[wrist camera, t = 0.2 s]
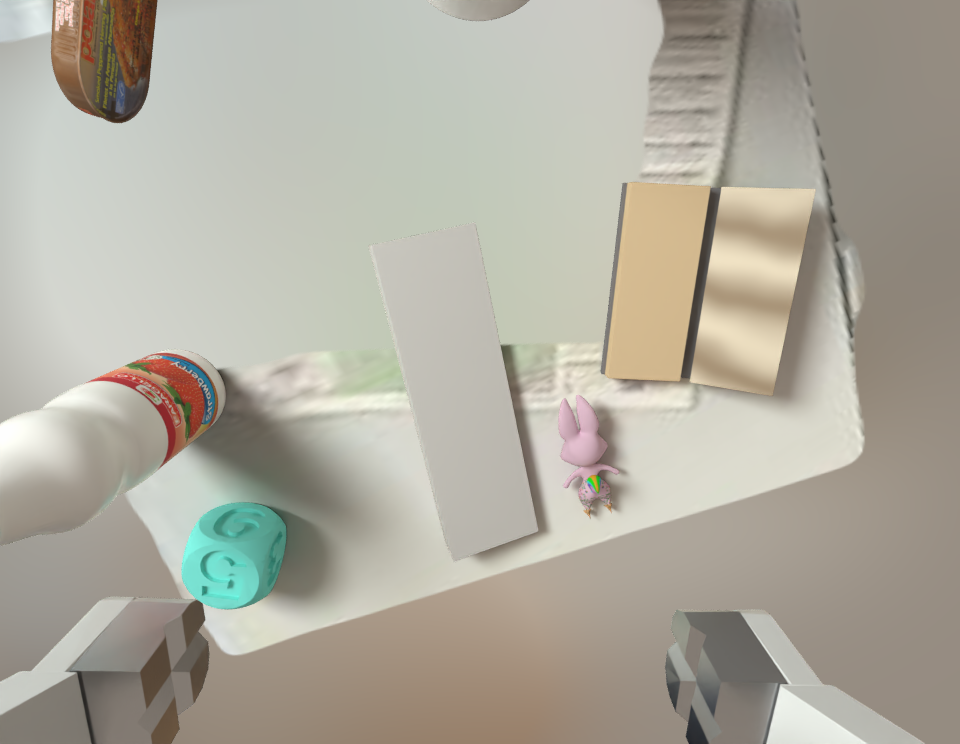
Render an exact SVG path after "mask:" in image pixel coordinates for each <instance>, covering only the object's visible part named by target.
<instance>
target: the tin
mask: <svg viewBox="0 0 960 744" xmlns="http://www.w3.org/2000/svg"><path fill="white" fill-rule="evenodd" d="M156 9H157V0H53V20H52V40H51V58H52V65H53V70H54V74H55V77H56V80H57V82H58V84H59V86H60V88H61V90H62V92H63V93H64V95H65V96H66V97H67V99H68V100H69V101H70V102H71V103H72V104H73V105H74V106H75V107H77V108H78V109H80V110H81V111H83V112H85V113H88V114H91V115H94V116H97V117H101V118H104V119H105V120H107V121H110V122H113V123H123V122H126V121H129V120H130V119H132V118H133V117H134V116H136V114H137V113H138V112H139V111H140V109H141V108H142V106H143V104H144V102H145V100H146V96H147V93H148V88H149V81H150V68H151V59H152V49H153V39H154V29H155V18H156Z"/></svg>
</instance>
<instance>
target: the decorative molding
mask: <svg viewBox="0 0 960 744" xmlns="http://www.w3.org/2000/svg"><path fill="white" fill-rule="evenodd" d="M369 250H370V254H371V257H372V261H373V265H374V269H375V273H376V276H377V280H378V284H379V288H380V292H381V296H382V300H383V303H384V307H385V311H386V315H387V318H388V323H389V326H390V330H391V334H392V338H393V342H394V346H395V350H396V353H397V357H398V361H399V365H400V369H401V373H402V377H403V380H404V384H405V388H406V392H407V396H408V400H409V403H410V407H411V411H412V415H413V419H414V423H415V426H416V430H417V434H418V438H419V442H420V446H421V449H422V453H423V457H424V461H425V465H426V469H427V472H428V476H429V480H430V484H431V488H432V492H433V496H434V499H435V503H436V507H437V511H438V515H439V519H440V522H441V526H442V530H443V534H444V538H445V542H446V545H447V547H448V549H449V552H450V554H451V557H452V559H453V561H454V562H455V561H457V560H460V559H463V558H466V557H469V556H471V555H474V554H477V553H480V552H482V551H485V550H488V549H491V548H494V547H496V546H499V545H502V544H505V543H507V542H510V541H513V540H516V539H518V538H521V537H524V536H527V535H530V534H532V533H535V532H538V526H537V522H536V517H535V512H534V507H533V502H532V497H531V492H530V487H529V483H528V478H527V473H526V468H525V463H524V458H523V453H522V448H521V444H520V439H519V434H518V429H517V424H516V419H515V414H514V409H513V404H512V400H511V395H510V390H509V385H508V380H507V375H506V370H505V365H504V361H503V356H502V351H501V346H500V341H499V337H498V331H497V327H496V322H495V317H494V313H493V307H492V302H491V297H490V292H489V288H488V283H487V278H486V273H485V268H484V263H483V258H482V253H481V248H480V244H479V239H478V234H477V229H476V224H475V223H470V224H465V225H461V226H456V227H451V228H447V229H441V230H437V231H433V232H428V233H424V234H419V235H414V236H410V237H406V238H401V239H396V240H391V241H387V242H382V243H377V244H373V245H369Z"/></svg>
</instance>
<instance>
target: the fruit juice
mask: <svg viewBox="0 0 960 744" xmlns="http://www.w3.org/2000/svg"><path fill="white" fill-rule="evenodd" d="M225 401H226V391H225V386H224V383H223V380H222V378H221V376H220V374H219V373H218V371H217V370H216V368H215V367H214V366H213V365H212V364H211V363H210V362H209V361H207V360H206V359H205V358H203V357H201V356H200V355H198V354H195V353H193V352H190V351H186V350H179V349H169V350H163V351H159V352H156V353H153V354H151V355H148V356H146V357H144V358H142V359H139V360H137V361H135V362H132V363H130V364H128V365H125V366H123V367H121V368H119V369H116V370H114V371H112V372H109V373H107V374H105V375H103V376H100V377H98V378H96V379H94V380H91V381H89V382H86V383H84V384H81V385H79V386H77V387H74V388H72V389H70V390H68V391H66V392H65V393H63V394H61V395H59V396H58V397H56V398H54V399H52V400H51V401H50V402H48V403H47V404H46V405H45V406H44V407H43V408H42V409H38V410H33V411H28V412H24V413H21V414H18V415H15V416H13V417H11V418H9V419H8V420H6V421H4V422H2V423H0V546H3V545H6V544H10V543H13V542H15V541H19V540H22V539H25V538H28V537H31V536H36V535H49V534H57V533H63V532H67V531H70V530H73V529H76V528H78V527H81V526H82V525H84V524H86V523H88V522H89V521H91V520H92V519H94V518H95V517H97V516H98V515H100V514H101V513H102V512H103V511H104V510H105V509H106V508H107V507H108V506H109V505H110V504H111V502H112V501H113V500H114V499H115V497H116V496H117V495H120V494H123V493H125V492H127V491H129V490H131V489H132V488H134V487H136V486H137V485H139V484H140V483H142V482H143V481H145V480H146V479H147V478H149V477H150V476H151V475H152V474H154V473H155V472H156V471H157V470H158V469H159V468H161V467H162V466H163V465H164V464H166V463H167V462H168V461H169V460H170V459H172V458H173V457H174V456H175V455H177V454H178V453H179V452H180V451H182V450H183V449H184V448H185V447H187V446H188V445H189V444H190V443H191V442H193V441H194V440H195V439H196V438H198V437H199V436H200V435H201V434H203V433H204V432H205V431H206V430H207V429H209V428H210V427H211V426H212V425H213V424H214V423H215V422H216V421H217V419H218V418H219V417H220V415H221V413H222V411H223V409H224V406H225Z"/></svg>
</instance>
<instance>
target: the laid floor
mask: <svg viewBox="0 0 960 744" xmlns="http://www.w3.org/2000/svg"><path fill="white" fill-rule="evenodd" d="M720 194H721V188H711V186H694V185H675V184H657V183H639V182H630V183H623V186H622V194H621V202H620V211H619V219H618V228H617V237H616V246H615V255H614V262H613V271H612V280H611V289H610V297H609V305H608V306H609V307H608V314H607V323H606V331H605V340H604V349H603V357H602V366H601V373H602V374H605V375H606V376H607V377H608V378H616V379H638V380H661V381H680V377H682V378H690V377H691V371H692V365H693V359H694V353H695V347H696V341H697V335H698V329H699V322H700V316H701V310H702V304H703V298H704V292H705V286H706V280H707V274H708V267H709V261H710V255H711V249H712V243H713V237H714V231H715V225H716V219H717V213H718V206H719V200H720Z"/></svg>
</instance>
